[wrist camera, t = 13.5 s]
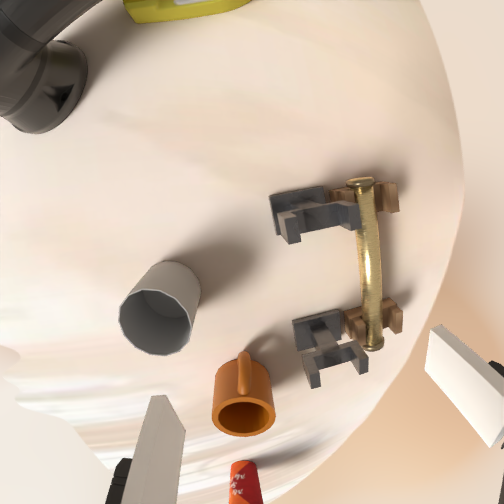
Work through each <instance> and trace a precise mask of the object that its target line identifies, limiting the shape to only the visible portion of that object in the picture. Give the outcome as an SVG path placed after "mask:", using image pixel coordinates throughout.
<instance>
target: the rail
mask: <svg viewBox="0 0 504 504" xmlns="http://www.w3.org/2000/svg"><path fill="white" fill-rule="evenodd" d="M373 185H375V180H374V177H360V178H353V179H349V180H347V181H346V186H347V188H349V190H353V191H354V198H355V203H357V204H359V209H360V216H361V224H362V229H357V230H355V233H356V242H357V251H358V261H359V273H360V286H361V303H362V320H363V321H364V323H365V324H366V345H363V346H361V347H362V349H364V350H365V351H370V352H373V351H378V350H380V349H381V348H382V347H383V346H384V337H383V336H382V331H383V302H382V272H381V255H380V242H379V231H378V221H377V212H376V204H375V197H374V189H373Z"/></svg>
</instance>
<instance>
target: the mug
mask: <svg viewBox="0 0 504 504" xmlns="http://www.w3.org/2000/svg"><path fill="white" fill-rule="evenodd" d="M275 417H276V414H275V408H274V402H273V395H272V389H271V383H270V377H269V373H268V371H267V370H266V368H265V367H264V366H263V365H261V364H260V363H258V362H256V361H252V360H251V358H250V355H249V353H248V352H246V351H242V352H240V353H239V355H238V359H237V360H232V361H230V362H227V363H225V364H224V365H222V366H221V367H220V368H219V369H218V371H217V373H216V376H215V386H214V397H213V408H212V421H213V423H214V425H215V426H216V427H217V428H218V429H219V430H220V431H222V432H224V433H226V434H229V435H233V436H239V437H248V436H254V435H258V434H260V433H263V432H265V431H266V430H268V429H269V428H270V427H271V426H272V425H273V423H274V422H275Z"/></svg>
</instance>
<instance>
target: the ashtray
mask: <svg viewBox="0 0 504 504" xmlns="http://www.w3.org/2000/svg"><path fill="white" fill-rule="evenodd" d="M250 1H251V0H123V3H124V5H125V8H126V10H127V11H128V13H129V14H130V16H131V17H132V19H133V20H134V22H135V23H138V24H140V23H152V22H164V21H173V20H181V19H189V18H195V17H202V16H207V15H213V14H218V13H224V12H227V11H231V10H234V9H236V8H239V7H241V6H243V5H245V4H247V3H248V2H250Z"/></svg>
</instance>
